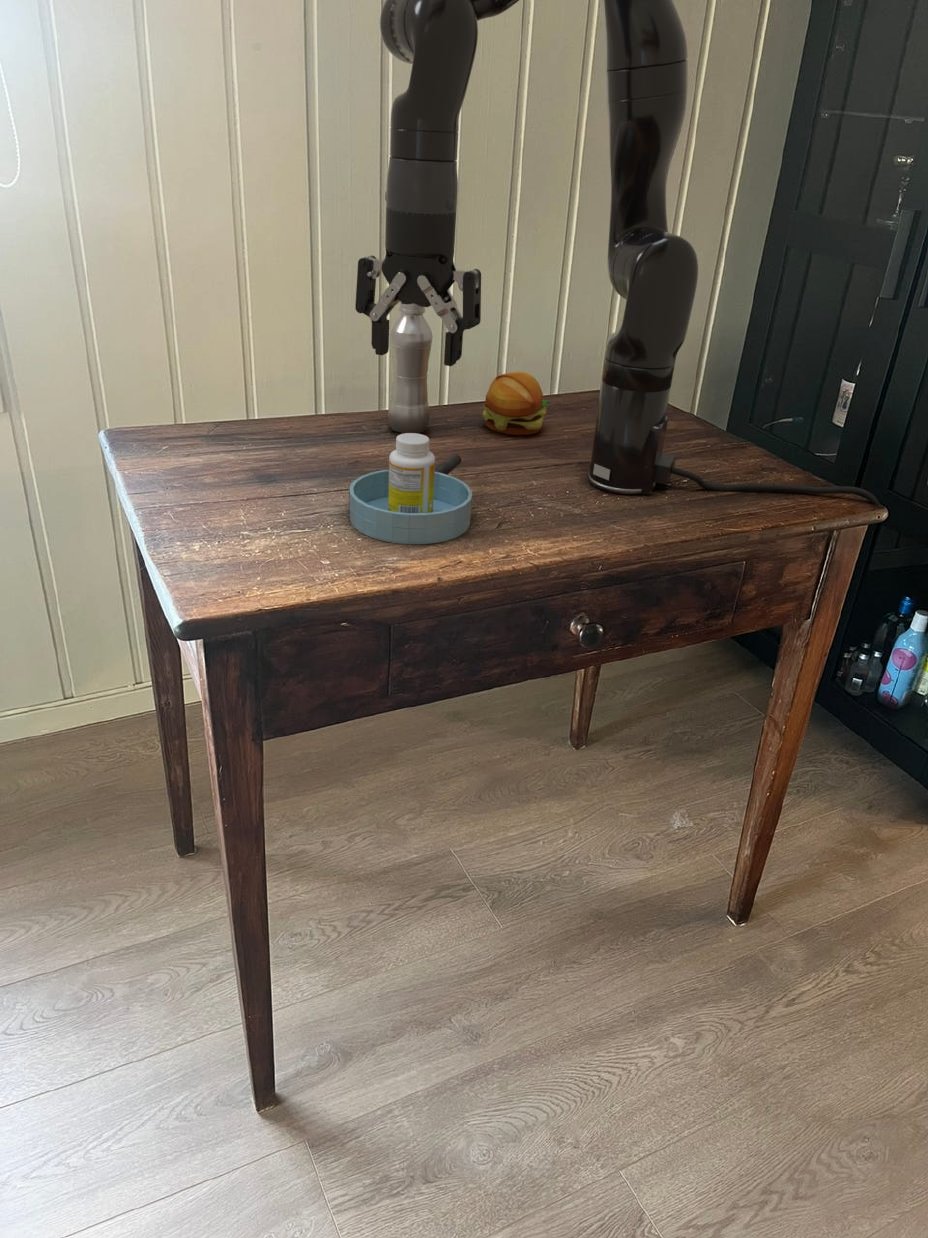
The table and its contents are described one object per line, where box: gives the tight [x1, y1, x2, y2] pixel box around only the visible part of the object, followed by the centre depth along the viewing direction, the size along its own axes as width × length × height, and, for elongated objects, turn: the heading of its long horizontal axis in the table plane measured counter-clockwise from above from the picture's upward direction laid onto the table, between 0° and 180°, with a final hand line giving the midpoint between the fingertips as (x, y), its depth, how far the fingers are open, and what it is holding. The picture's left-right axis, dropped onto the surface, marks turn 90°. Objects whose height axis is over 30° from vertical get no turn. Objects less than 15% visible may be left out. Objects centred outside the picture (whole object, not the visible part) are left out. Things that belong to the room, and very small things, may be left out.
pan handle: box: [435, 453, 462, 475], centre depth 126 cm, size 9×2×2 cm, turn 159°
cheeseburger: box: [482, 371, 550, 436], centre depth 150 cm, size 10×11×10 cm
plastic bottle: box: [387, 301, 434, 434], centre depth 143 cm, size 6×7×20 cm
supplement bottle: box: [388, 433, 436, 513], centre depth 115 cm, size 6×6×10 cm
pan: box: [348, 469, 473, 545], centre depth 117 cm, size 15×15×4 cm
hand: (415, 358), depth 108 cm, fingers open, 8 cm apart
